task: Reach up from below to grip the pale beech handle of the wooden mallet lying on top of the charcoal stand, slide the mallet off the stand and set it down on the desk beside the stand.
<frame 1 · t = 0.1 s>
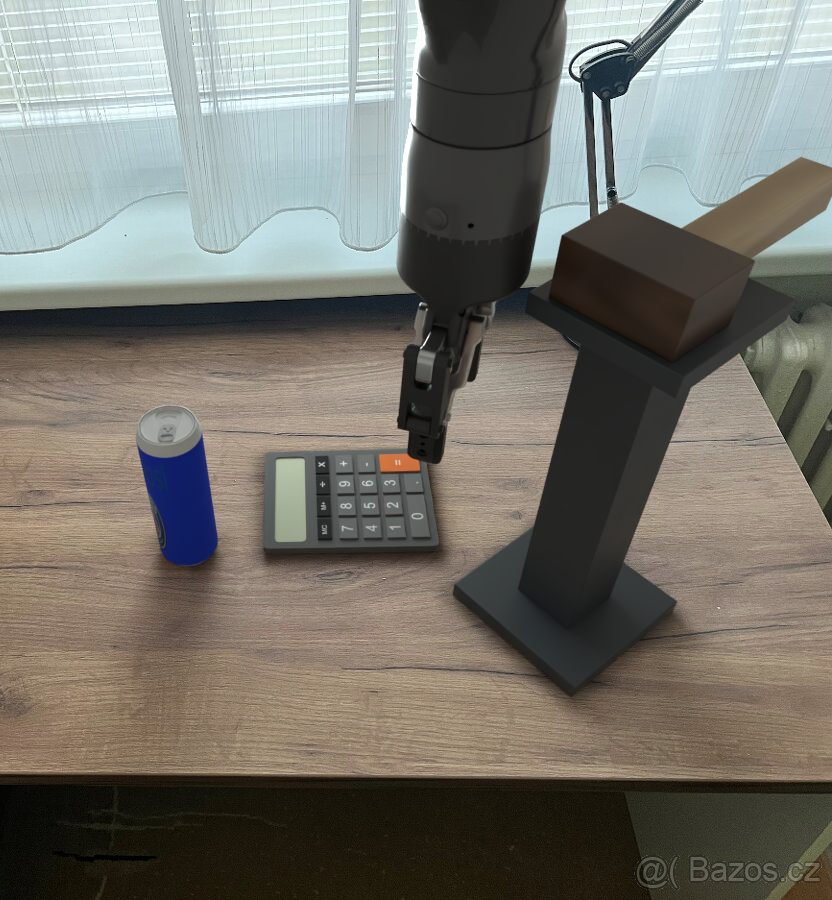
hand: (443, 415, 59), 19 cm above the table, tool pointing down, fingers open, 8 cm apart
stand: (560, 603, 70), on the table
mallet: (636, 309, 48), point 30 cm above the table, touching stand
beverage can: (190, 548, 78), on the table
calculator: (346, 503, 80), on the table
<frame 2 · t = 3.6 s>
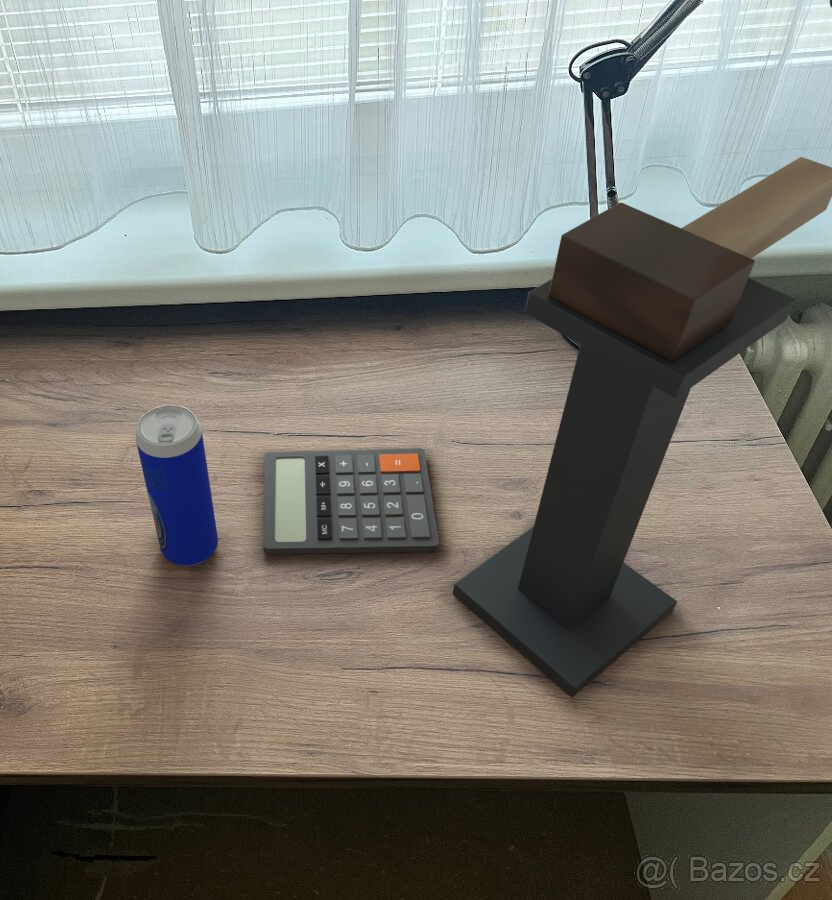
nothing on the table moved.
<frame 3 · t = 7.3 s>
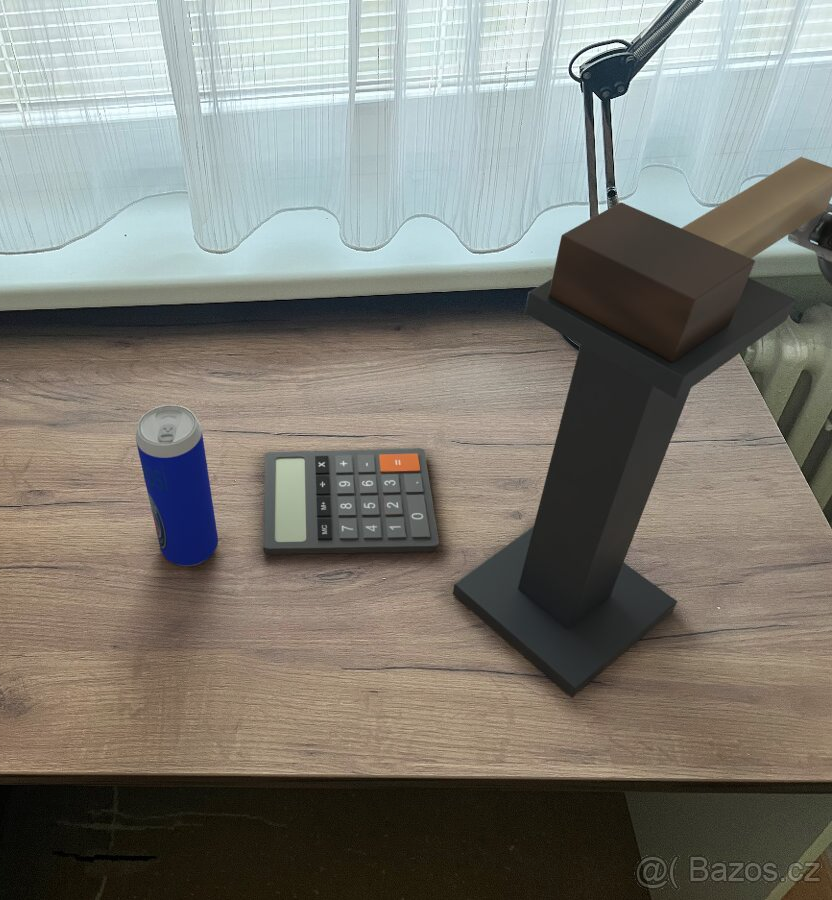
hand: (830, 230, 60), 25 cm above the table, tool pointing upward, fingers open, 8 cm apart
nothing on the table moved.
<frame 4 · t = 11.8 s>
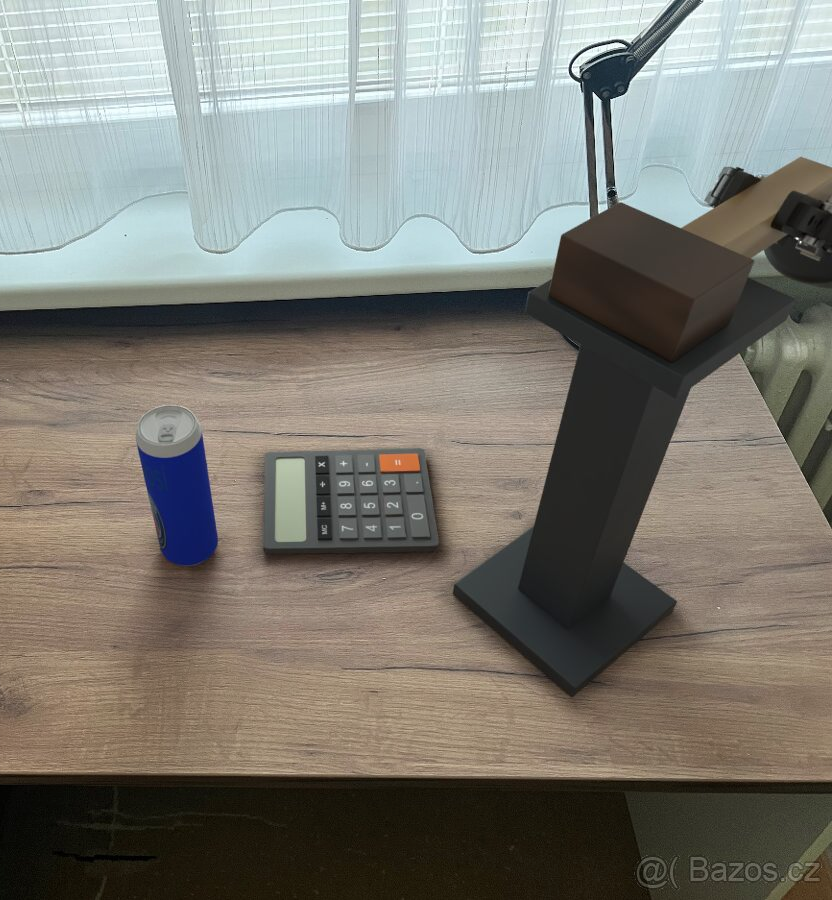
hand: (759, 200, 50), 33 cm above the table, tool pointing upward, fingers closed on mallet, 2 cm apart
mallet: (635, 309, 48), point 30 cm above the table, touching gripper, stand
everything else where it was.
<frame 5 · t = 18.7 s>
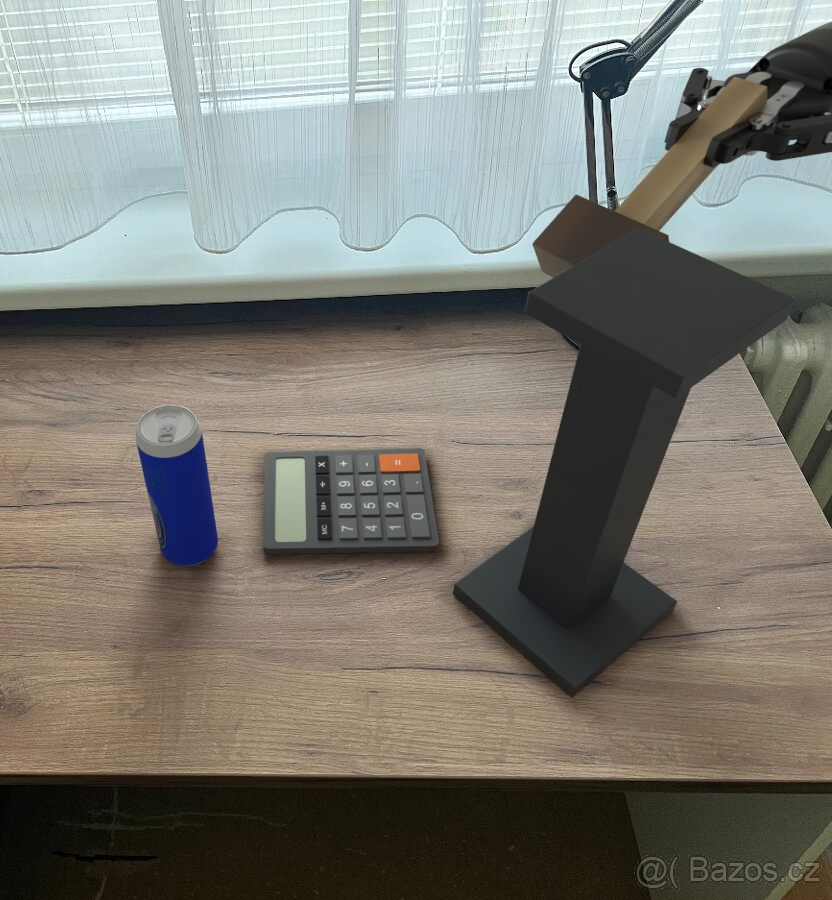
hand: (691, 146, 65), 28 cm above the table, tool horizontal, fingers closed on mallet, 2 cm apart
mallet: (604, 269, 67), point 20 cm above the table, tilted 30°, touching gripper
everything else where it was.
when the fingers open (9 cm above the table, at t = 24.2 s): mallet drops 1 cm, on the table.
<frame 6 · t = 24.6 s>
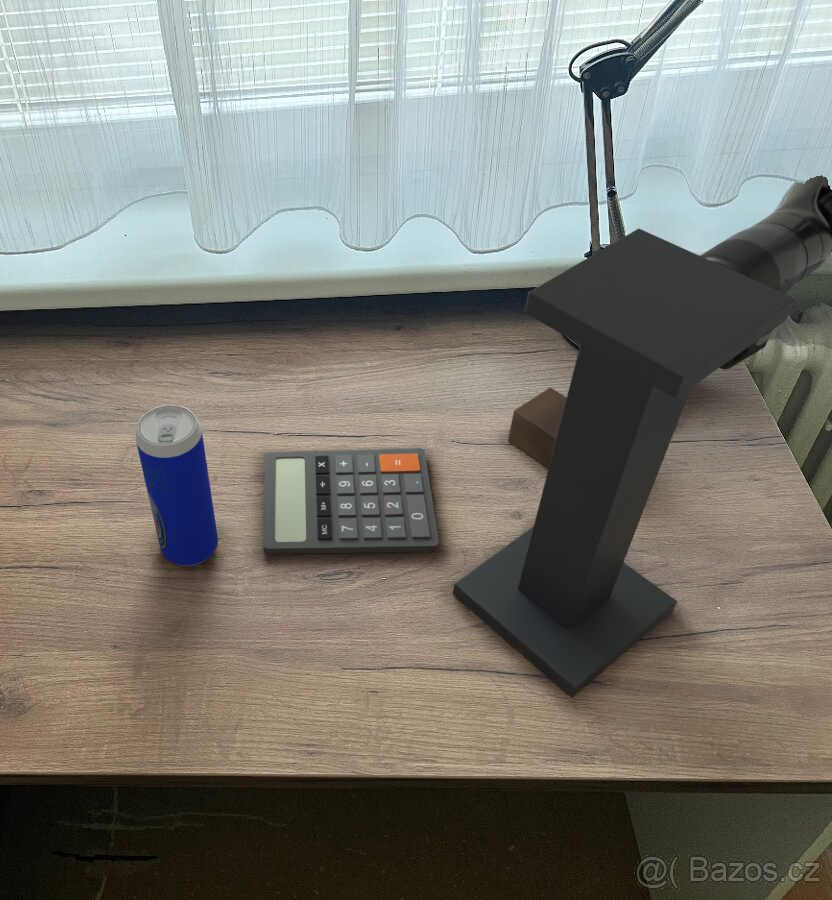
hand: (633, 346, 78), 9 cm above the table, tool horizontal, fingers open, 7 cm apart
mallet: (558, 451, 82), on the table
everything else where it was.
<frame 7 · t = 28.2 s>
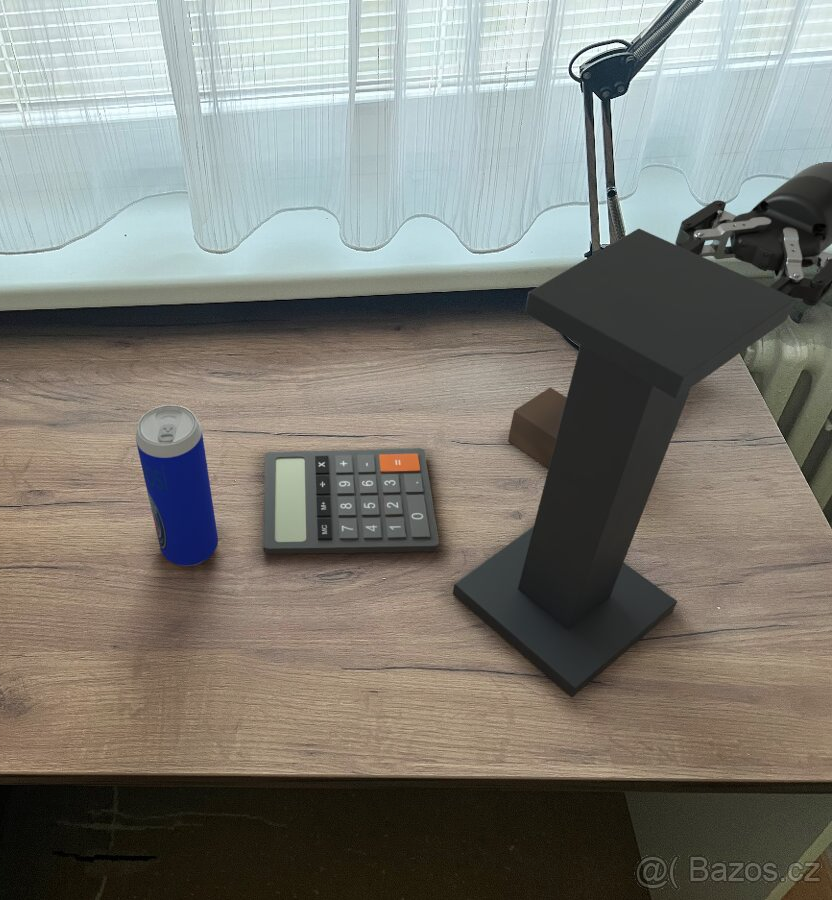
hand: (715, 285, 82), 10 cm above the table, tool horizontal, fingers open, 8 cm apart
nothing on the table moved.
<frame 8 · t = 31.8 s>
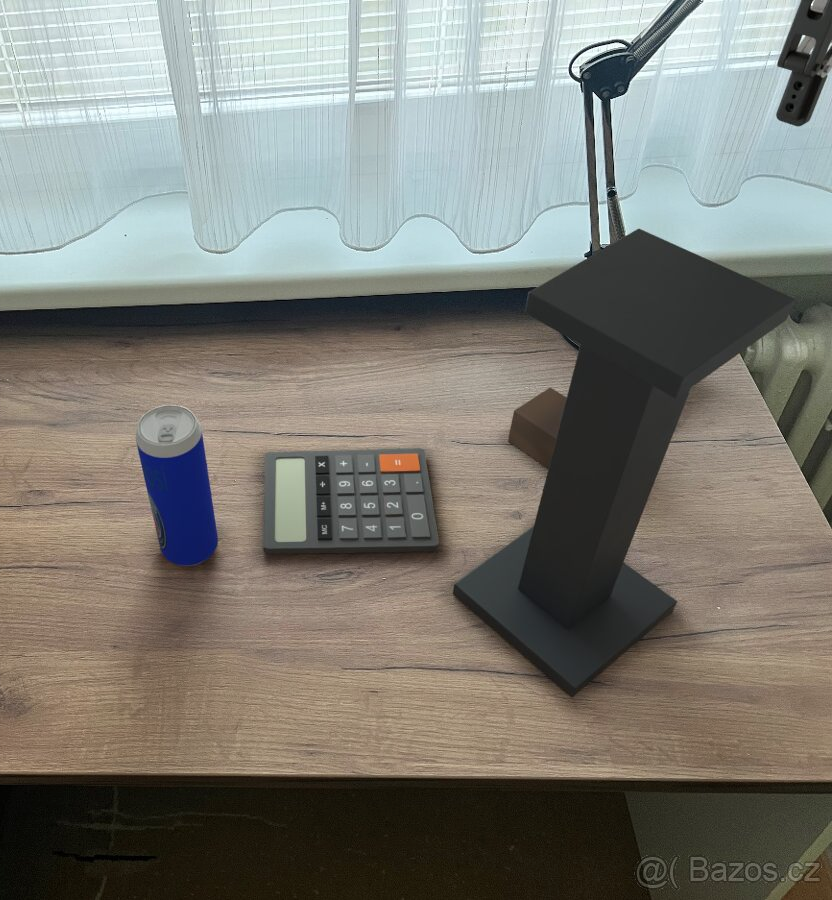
hand: (822, 104, 67), 28 cm above the table, tool pointing down, fingers open, 8 cm apart
nothing on the table moved.
at the end: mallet inside the target area (2.4 cm from its centre), on the table; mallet touching table; the gripper is holding nothing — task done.
